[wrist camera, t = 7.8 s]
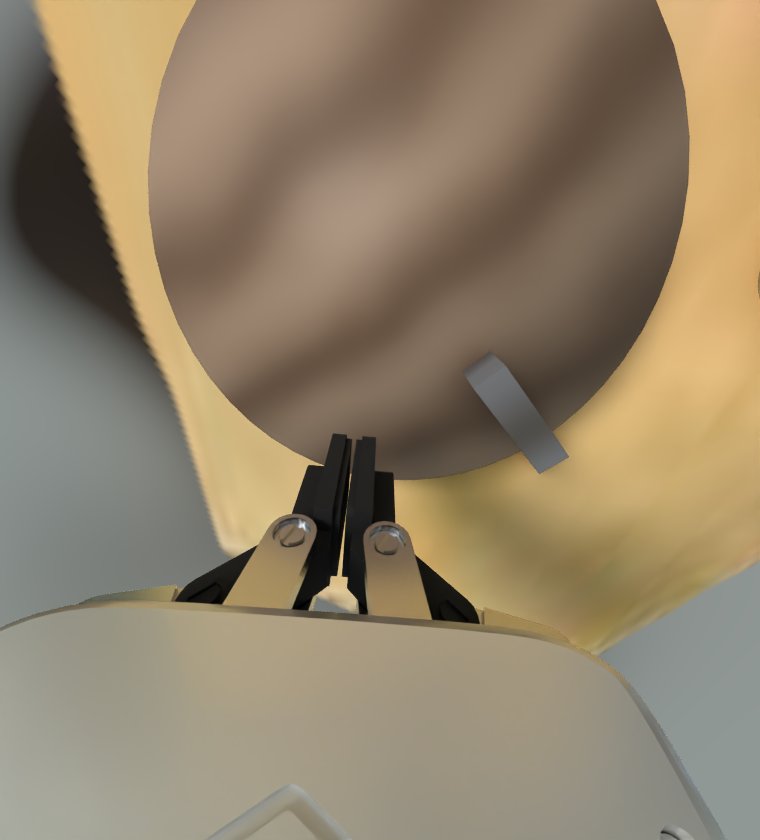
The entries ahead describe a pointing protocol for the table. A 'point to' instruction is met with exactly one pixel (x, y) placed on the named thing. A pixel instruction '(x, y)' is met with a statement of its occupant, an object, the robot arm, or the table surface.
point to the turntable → (417, 214)
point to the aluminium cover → (759, 284)
